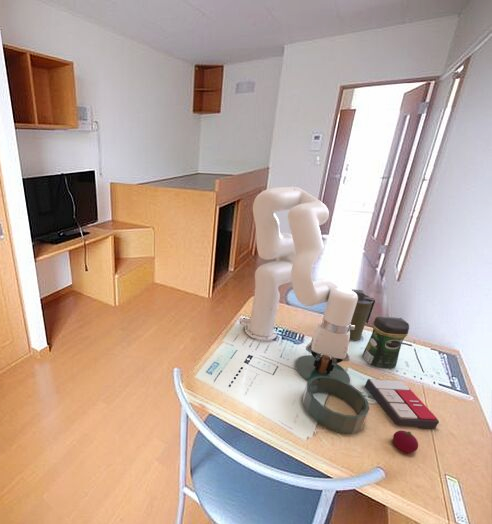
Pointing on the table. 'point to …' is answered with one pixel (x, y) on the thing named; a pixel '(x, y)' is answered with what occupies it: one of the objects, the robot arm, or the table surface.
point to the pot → (329, 417)
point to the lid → (308, 369)
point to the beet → (405, 441)
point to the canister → (361, 314)
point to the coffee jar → (385, 342)
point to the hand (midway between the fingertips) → (322, 369)
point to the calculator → (401, 403)
